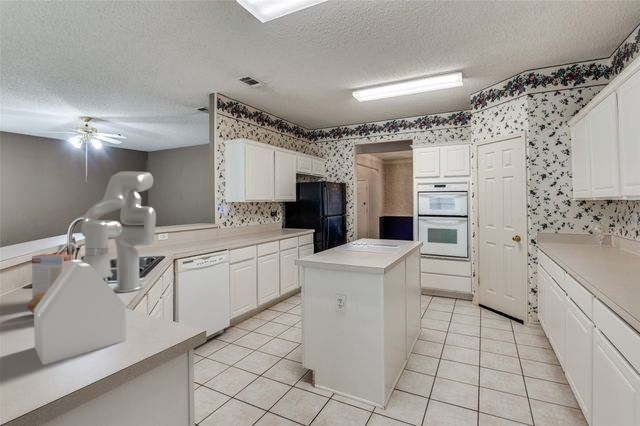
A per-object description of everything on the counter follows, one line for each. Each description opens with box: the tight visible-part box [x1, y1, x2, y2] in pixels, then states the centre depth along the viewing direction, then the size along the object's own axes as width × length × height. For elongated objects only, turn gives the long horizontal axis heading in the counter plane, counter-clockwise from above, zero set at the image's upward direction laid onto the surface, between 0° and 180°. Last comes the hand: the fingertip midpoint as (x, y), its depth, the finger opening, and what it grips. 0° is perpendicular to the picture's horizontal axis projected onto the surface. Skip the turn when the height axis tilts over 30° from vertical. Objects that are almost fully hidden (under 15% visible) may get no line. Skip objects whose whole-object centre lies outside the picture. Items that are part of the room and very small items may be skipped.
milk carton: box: [33, 259, 127, 366], centre depth 92 cm, size 19×15×25 cm
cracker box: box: [31, 253, 74, 299], centre depth 132 cm, size 14×6×21 cm, turn 84°
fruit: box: [27, 294, 45, 314], centre depth 117 cm, size 8×8×8 cm
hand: (97, 295), depth 124 cm, fingers open, 5 cm apart
